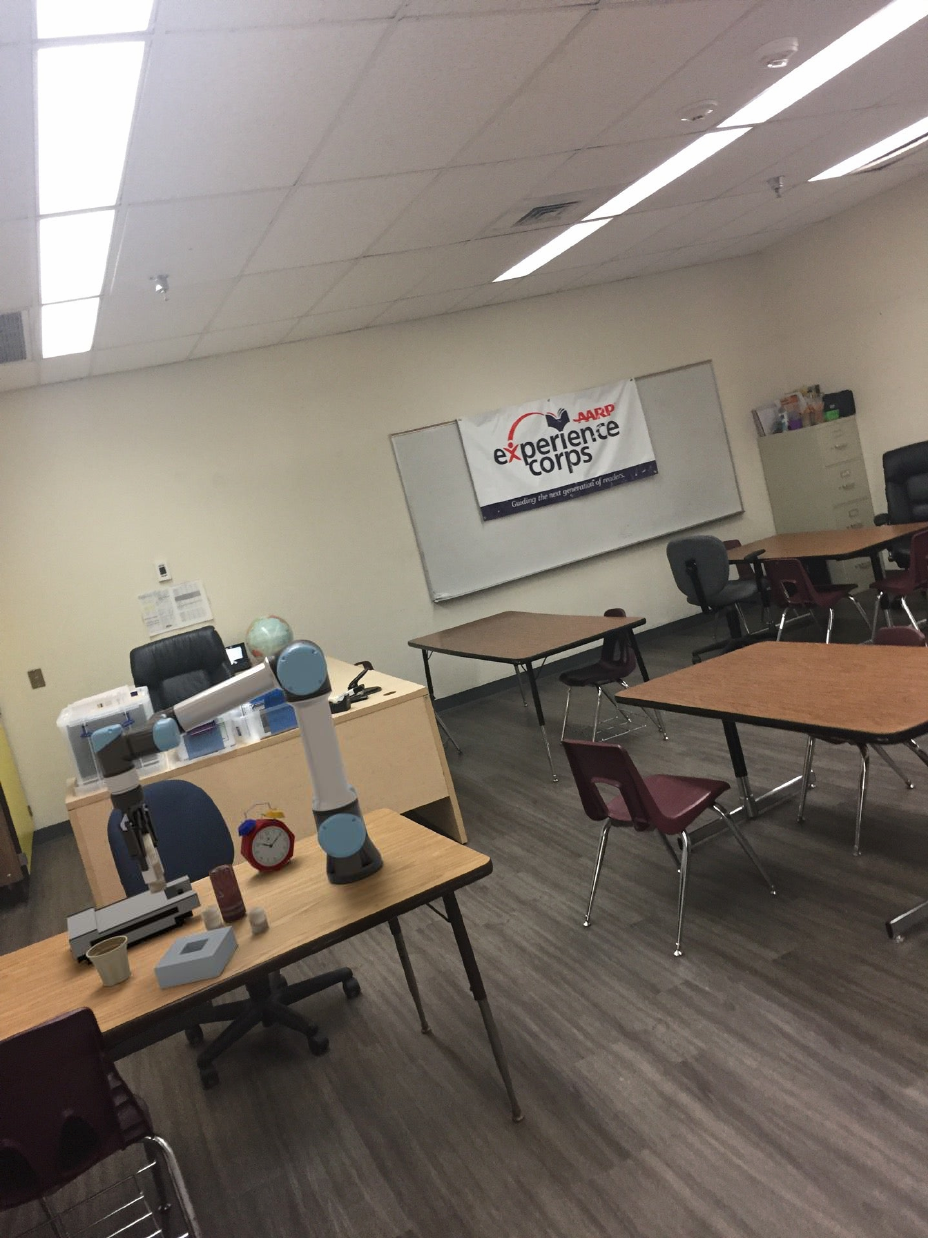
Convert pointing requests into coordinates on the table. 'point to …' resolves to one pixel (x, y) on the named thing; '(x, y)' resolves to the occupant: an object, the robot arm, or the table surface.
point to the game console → (133, 917)
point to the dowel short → (257, 920)
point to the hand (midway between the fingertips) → (155, 877)
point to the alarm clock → (266, 841)
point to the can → (227, 892)
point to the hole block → (196, 957)
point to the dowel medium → (212, 918)
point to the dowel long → (154, 866)
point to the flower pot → (111, 960)
